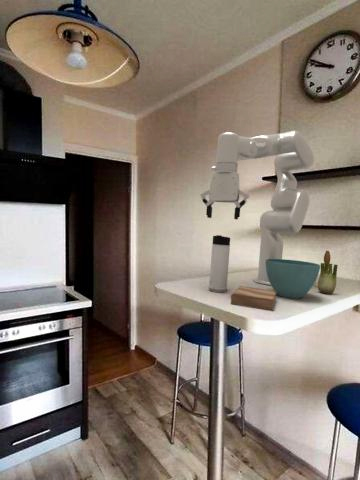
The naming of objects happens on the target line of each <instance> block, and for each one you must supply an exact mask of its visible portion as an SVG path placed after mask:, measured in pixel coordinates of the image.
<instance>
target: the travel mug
mask: <svg viewBox="0 0 360 480" xmlns="http://www.w3.org/2000/svg"><path fill="white" fill-rule="evenodd" d="M230 247H231V237H228V236H223V235H220V234H215V235H212V244H211V254H210V255H211V256H210V257H211V258H210V268H209V270H210V271H209V285H208V291H210V292H212V293H217V294H218V293H219V294H220V293H222V294H223V293H226V292H227V290H228V289H227V286H228V276H229V275H228V273H229V265H230V264H229V263H230V261H229V260H230V250H231V248H230Z"/></svg>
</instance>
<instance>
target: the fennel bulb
mask: <svg viewBox="0 0 360 480" xmlns="http://www.w3.org/2000/svg"><path fill="white" fill-rule="evenodd" d="M338 266H339V264H333V263H331V262H330V263H329V267H328V263H325V264H324V262H321V263H320V270H319V275H318V276H319V277H318V281H317V282H318V287H317V290H318V292H320V293H322V294H328V295H330V294H331V295H332V294H334V293H335V290H336V289H335V287H336V286H337V277H338V276H337V274H338Z"/></svg>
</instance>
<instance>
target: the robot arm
mask: <svg viewBox="0 0 360 480" xmlns="http://www.w3.org/2000/svg"><path fill="white" fill-rule="evenodd" d="M216 146H217V147H216V148H217V150H216V161H215V165H214V166H212V167H211V171H213V173H212V174H211V180H210V184H209V189H208V190H206V191H205V192H202V193H201V194H200V198H201V200H202V203H204V205H205V206H206V211H205V212H206V213H205V214H206V217H207V218H208V219H212V216H213V215H212V214H213V207H212V206H213V205H214V203H231V204H232V203H234V205H235V208H234V216H233V217H234V218H233V219H234V220H236V221H237V220H238V219H239V218H240V216H241V208H242V207H243V206H244V205H245V204H247V202H248V201H249V198H250V195H249V194H247V193H246V192H243V191H242V190H240V176H239V175H240V174H239V173H238V166H239V161H240V162H241V161H245V160H252V159H253V160H254V159H261V158H262V159H263V158H268V157H273V156H274V159H273V165H274V169H275V172H276V177H277V182H276V185H275V188H274V191H273V194H272V195H271V199H270V207H271V209H272V210H267V211H265V212H263V213H262V214H261V215H260V217H259V228H260V244H259V245H260V246H259V257H258V258H259V259H258V268H257V269H258V271H257V277H254V278H253V281H254V282H255V283H258V284H262V285H267V286H272V285H271V283H270V281H269V279H268V276H267V271H266V259H283V251H284V241H283V239H282V236H281V235H280V234H288V235H289V234H290V235H291V234H293V235H295V234H298V233H299V232H300V231H301V229H302V227H303V224H304V221H305V218H306V216H307V212H308V209H309V205H310V195H309V193H308V191H307V190H306V189H303V188H297V186H298V181H297V179H296V177H295V175H293V173H292V172H291V171H298V170H306V169H309V168H310V167H312V166H313V164H314V161H315V156H314V152H313V150H312V149H311V146H310V144H309V143H308V141H307V140H306V138H305V137H304V136H303V134H302V133H301V132H299V131H298V130H291V131H284V132H280V133H273V134H272V133H271V134H262V135H258V136H253V137H247V136H243V135H242V136H241V135H239V134H237V133H236V132H230V131H227V132H222V133H221V134H219V135H218V138H217V145H216ZM207 196H208V199H209V200H208V199H207ZM240 196H242V197H243V199H242V200H241V201H240V202H239V200H240Z"/></svg>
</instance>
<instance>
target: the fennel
mask: <svg viewBox="0 0 360 480" xmlns="http://www.w3.org/2000/svg"><path fill="white" fill-rule="evenodd" d="M331 258H332V257H331V253H330V251H329V250H326V251H325V253H324V255H323V261H324V262H323V263H324V265H325V263H328V267H329V263H330V264H331ZM314 286H315V287H316V288H318V281H317V283H316V282H315V283H314ZM335 288H336V287H335ZM336 289H337V288H336Z"/></svg>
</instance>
